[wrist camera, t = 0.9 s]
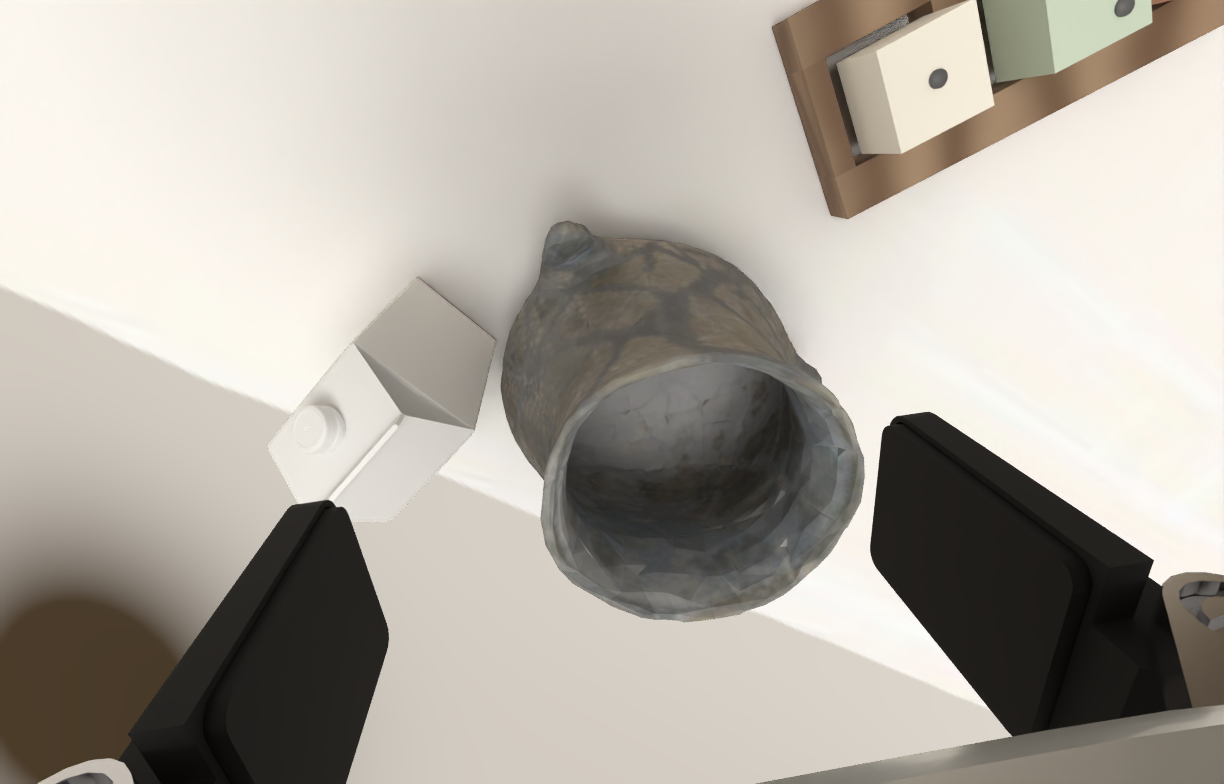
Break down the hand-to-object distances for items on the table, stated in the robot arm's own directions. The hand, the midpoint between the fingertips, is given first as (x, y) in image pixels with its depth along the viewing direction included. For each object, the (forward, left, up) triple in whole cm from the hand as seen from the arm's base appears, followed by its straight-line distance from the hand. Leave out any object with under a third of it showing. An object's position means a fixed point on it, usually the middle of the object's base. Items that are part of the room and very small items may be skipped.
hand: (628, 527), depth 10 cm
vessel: (+11, +2, -33) cm, 35 cm away
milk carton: (+2, -12, -33) cm, 35 cm away
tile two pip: (+1, +33, -30) cm, 45 cm away
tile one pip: (+1, +23, -30) cm, 38 cm away
